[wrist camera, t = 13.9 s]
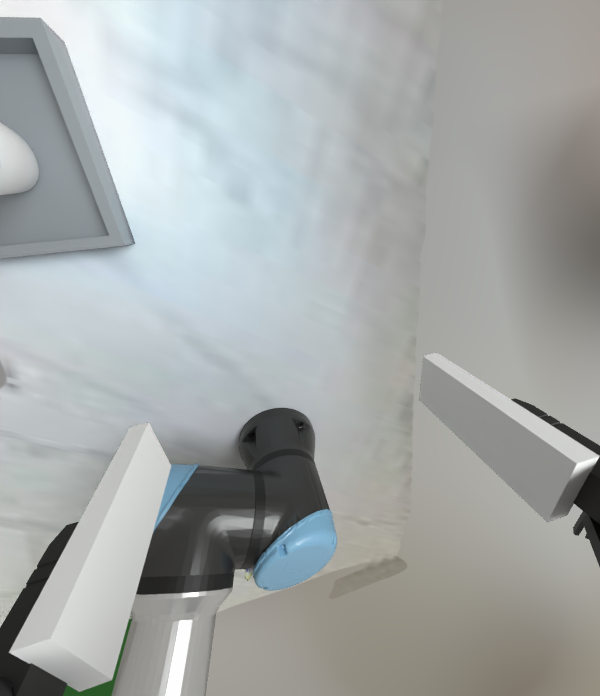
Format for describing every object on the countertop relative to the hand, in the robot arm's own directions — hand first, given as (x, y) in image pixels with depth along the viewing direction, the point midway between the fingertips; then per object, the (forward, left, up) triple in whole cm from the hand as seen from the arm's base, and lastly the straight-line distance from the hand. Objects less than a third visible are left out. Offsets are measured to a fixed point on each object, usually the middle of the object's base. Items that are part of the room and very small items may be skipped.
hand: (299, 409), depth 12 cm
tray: (+16, +24, -30) cm, 42 cm away
